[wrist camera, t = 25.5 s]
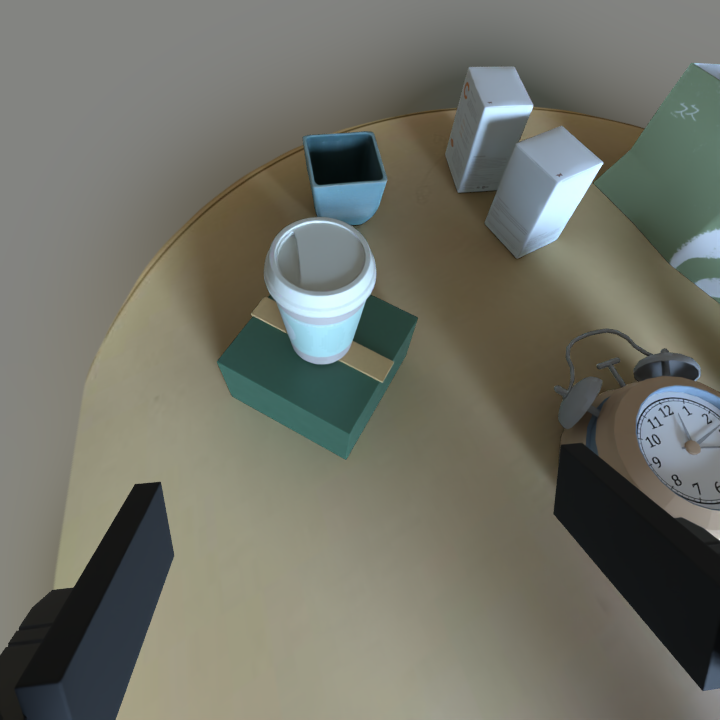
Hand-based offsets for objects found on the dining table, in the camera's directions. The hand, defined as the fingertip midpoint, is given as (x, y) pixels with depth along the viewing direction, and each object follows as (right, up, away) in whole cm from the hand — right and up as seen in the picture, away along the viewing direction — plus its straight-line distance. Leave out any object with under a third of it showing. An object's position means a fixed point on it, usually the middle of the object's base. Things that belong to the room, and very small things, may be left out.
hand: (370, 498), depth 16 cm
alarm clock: (+28, -5, +36) cm, 45 cm away
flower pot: (-3, +24, +48) cm, 54 cm away
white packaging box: (+21, +22, +49) cm, 58 cm away
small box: (+16, +32, +54) cm, 64 cm away
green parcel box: (-5, +3, +37) cm, 37 cm away
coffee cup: (-4, +7, +30) cm, 31 cm away
